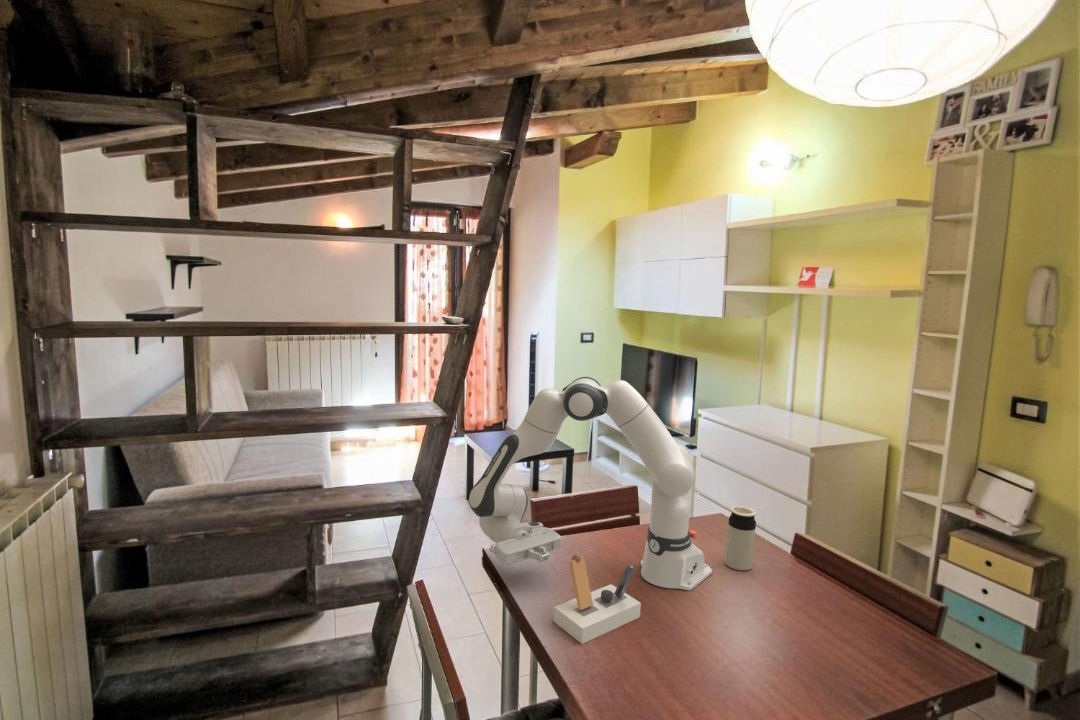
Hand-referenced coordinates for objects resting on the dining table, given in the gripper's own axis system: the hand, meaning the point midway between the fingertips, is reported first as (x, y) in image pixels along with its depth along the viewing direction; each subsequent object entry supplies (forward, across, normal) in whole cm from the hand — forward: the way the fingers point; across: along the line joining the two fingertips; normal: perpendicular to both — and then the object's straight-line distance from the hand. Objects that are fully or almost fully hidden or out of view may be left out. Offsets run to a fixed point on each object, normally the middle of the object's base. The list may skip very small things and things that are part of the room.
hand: (545, 558), depth 159 cm
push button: (+17, +7, +6) cm, 20 cm away
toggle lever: (+17, +11, +6) cm, 22 cm away
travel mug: (+20, +61, +10) cm, 65 cm away
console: (+17, +4, +10) cm, 21 cm away
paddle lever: (+17, 0, +6) cm, 18 cm away
